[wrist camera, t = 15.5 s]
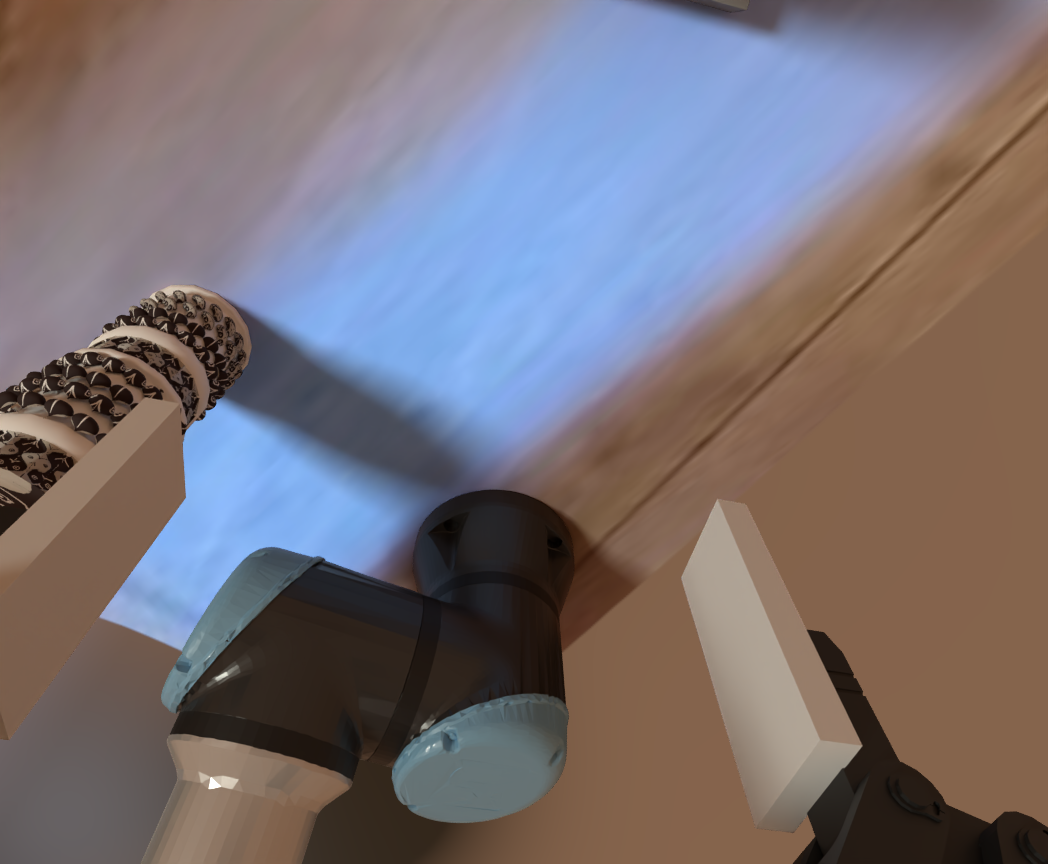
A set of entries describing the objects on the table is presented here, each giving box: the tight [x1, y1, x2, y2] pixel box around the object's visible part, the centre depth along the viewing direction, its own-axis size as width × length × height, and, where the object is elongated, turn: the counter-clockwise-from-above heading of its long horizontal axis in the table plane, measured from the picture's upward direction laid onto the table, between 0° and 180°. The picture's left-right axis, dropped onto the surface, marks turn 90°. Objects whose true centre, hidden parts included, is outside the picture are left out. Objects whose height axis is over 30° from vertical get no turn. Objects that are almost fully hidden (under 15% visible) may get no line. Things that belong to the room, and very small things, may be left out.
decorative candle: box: [0, 285, 252, 509], centre depth 40 cm, size 9×9×25 cm
